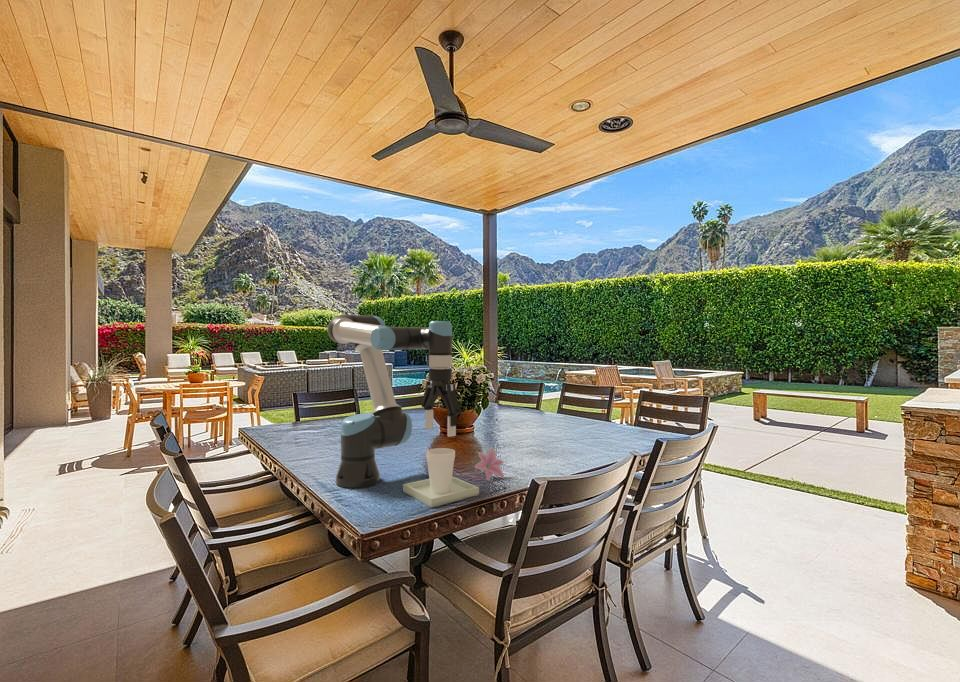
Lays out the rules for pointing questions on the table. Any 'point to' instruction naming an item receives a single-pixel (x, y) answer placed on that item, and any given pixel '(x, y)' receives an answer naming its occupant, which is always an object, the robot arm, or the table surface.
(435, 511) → the table surface
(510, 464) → the table surface
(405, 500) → the table surface
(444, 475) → the foam cup
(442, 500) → the tray
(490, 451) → the lily
